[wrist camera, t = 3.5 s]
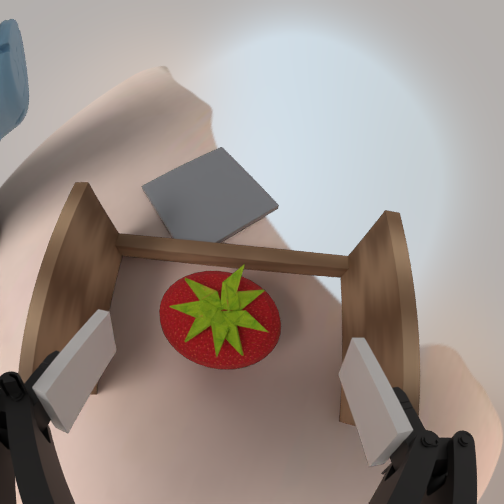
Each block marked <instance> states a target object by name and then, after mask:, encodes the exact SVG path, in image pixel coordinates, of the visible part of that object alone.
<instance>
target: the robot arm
mask: <svg viewBox="0 0 504 504" xmlns="http://www.w3.org/2000/svg"><path fill="white" fill-rule="evenodd" d="M28 105H29V88H28V77H27V68H26V61H25V54H24V48H23V42H22V37H21V33H20V30H19V28H18V24H17V22H16V20H14V19H10V20H5V21H3V22H2V23H1V24H0V140H1V139H2V138H3V137H4V136H6V135H7V134H8V133H9V132H11V131H12V130H13V129H14V128H16V127H17V126H18V125H19V124H20V123H21V122H22V121H23V119H24V118H25V116H26V113H27V110H28ZM116 351H117V349H116V344H115V339H114V334H113V329H112V323H111V317H110V312H109V311H104V310H99V309H98V310H97V311H96V312H95V313H94V314H93V316H92V317H91V318H90V319H89V320H88V321H87V322H86V323H85V324H84V326H83V327H82V328H81V329H80V330H79V331H78V332H77V333H76V335H75V336H74V337H73V338H72V339H71V340H70V341H69V343H68V344H67V345H66V346H65V347H64V348H63V350H62V351H61V352H59V351H57V350H56V351H54V352H52V353H51V354H49V355H48V356H47V357H46V358H45V359H44V360H43V363H41V364H40V365H39V366H38V368H37V369H36V370H35V371H34V372H33V374H32V375H31V376H30V377H29V378H28V380H27V381H26V382H25V383H23V381H22V379H21V377H20V375H19V374H18V373H16V372H6V373H4V374H3V375H1V376H0V504H16V491H15V477H16V482H17V486H18V489H19V493H20V496H21V500H22V503H23V504H75V502H74V500H73V498H72V495H71V493H70V490H69V488H68V485H67V483H66V480H65V477H64V474H63V472H62V469H61V466H60V463H59V460H58V456H57V453H56V450H55V446H54V442H53V439H52V435H51V431H50V428H49V425H48V424H49V422H50V420H51V421H52V423H53V424H54V426H55V427H56V428H58V429H60V430H62V431H64V432H66V433H69V431H70V429H71V427H72V425H73V424H74V422H75V420H76V418H77V416H78V415H79V413H80V411H81V409H82V408H83V406H84V404H85V402H86V401H87V399H88V397H89V395H90V394H91V392H92V390H93V389H94V387H95V385H96V384H97V382H98V380H99V379H100V377H101V375H102V374H103V372H104V370H105V369H106V367H107V366H108V364H109V362H110V361H111V359H112V358H113V356H114V354H115V353H116ZM338 375H339V378H340V381H341V384H342V387H343V389H344V392H345V395H346V398H347V401H348V404H349V407H350V410H351V413H352V415H353V418H354V421H355V424H356V427H357V430H358V434H359V437H360V440H361V443H362V446H363V449H364V452H365V455H366V459H367V462H368V465H369V467H371V466H376V465H381V464H384V463H385V462H386V461H387V460H388V459H389V458H390V459H391V462H392V463H391V464H390V465H389V466H388V467H387V468H386V469H385V470H384V471H383V472H382V474H384V473H385V472H386V473H385V475H384V477H383V479H382V481H381V483H380V484H379V486H378V488H377V490H376V492H375V493H374V495H373V497H372V499H371V500H370V502H369V504H477V468H476V454H475V443H474V439H473V437H472V435H471V434H470V433H468V432H467V431H458V432H457V433H455V435H454V436H453V437H452V438H439V437H438V436H437V435H436V434H435V433H434V432H432V431H428V430H425V428H424V426H423V425H422V423H421V421H420V419H419V417H418V415H417V413H416V411H415V409H414V408H413V406H412V404H411V402H410V400H409V398H408V397H407V395H406V393H405V392H404V391H403V390H402V389H400V388H399V387H393V388H392V387H391V385H390V383H389V381H388V379H387V378H386V376H385V374H384V372H383V370H382V368H381V367H380V365H379V363H378V361H377V359H376V357H375V356H374V354H373V352H372V350H371V349H370V347H369V345H368V343H367V341H366V340H365V338H352V339H351V342H350V345H349V348H348V350H347V353H346V356H345V358H344V361H343V364H342V366H341V369H340V371H339V374H338Z"/></svg>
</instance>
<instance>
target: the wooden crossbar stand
mask: <svg viewBox="0 0 504 504" xmlns="http://www.w3.org/2000/svg"><path fill="white" fill-rule="evenodd" d="M122 256H130V257H138V258H147V259H156V260H164V261H173V262H182V263H192V264H201V265H210V266H220V267H230V268H240V267H241V266H243V265H244V264H245V265H244V269H250V270H260V271H271V272H282V273H293V274H304V275H316V276H328V277H340V278H341V296H342V364H343V361H344V358H345V356H346V353H347V350H348V348H349V345H350V342H351V339H352V338H365V340H366V341H367V343H368V345H369V347H370V349H371V350H372V352H373V354H374V356H375V357H376V359H377V361H378V363H379V365H380V367H381V368H382V370H383V372H384V374H385V376H386V378H387V379H388V381H389V383H390V385H391V387H392V388H393V387H399V388H400V389H402V390H403V391H404V392H405V393H406V395H407V397H408V398H409V400H410V402H411V404H412V406H413V408H414V409H415V411H416V413H417V415H419V396H420V351H419V332H418V320H417V309H416V299H415V291H414V284H413V277H412V271H411V265H410V259H409V253H408V248H407V243H406V238H405V234H404V229H403V225H402V220H401V217H400V213H397V212H392V211H387V210H385V211H384V213H383V214H382V215H381V216H380V218H379V219H378V220H377V222H376V223H375V224H374V225H373V226H372V228H371V229H370V230H369V232H368V233H367V234H366V235H365V236H364V238H363V239H362V240H361V241H360V242H359V244H358V245H357V246H356V247H355V249H354V250H353V251H352V252H351V253H350V254H349V256H342V255H332V254H323V253H313V252H304V251H294V250H284V249H274V248H264V247H254V246H245V245H234V244H224V243H214V242H204V241H194V240H183V239H173V238H162V237H152V236H141V235H130V234H120V233H118V231H117V230H116V228H115V227H114V225H113V223H112V222H111V220H110V219H109V217H108V215H107V214H106V212H105V210H104V209H103V207H102V205H101V204H100V202H99V200H98V199H97V197H96V195H95V193H94V192H93V190H92V188H91V186H90V184H89V183H88V182H75V184H74V186H73V188H72V190H71V192H70V194H69V196H68V199H67V201H66V203H65V205H64V207H63V209H62V212H61V214H60V216H59V219H58V221H57V223H56V226H55V228H54V231H53V233H52V236H51V238H50V241H49V244H48V247H47V249H46V252H45V255H44V258H43V261H42V264H41V267H40V270H39V273H38V277H37V280H36V284H35V287H34V291H33V295H32V298H31V303H30V307H29V311H28V315H27V320H26V325H25V330H24V336H23V342H22V348H21V355H20V363H19V372H18V374H19V375H20V377H21V379H22V381H23V383H25V382H26V381H27V380H28V378H29V377H30V376H31V375H32V374H33V372H34V371H35V370H36V369H37V368H38V366H39V365H40V364H41V363H43V360H44V359H45V358H46V357H47V356H48V355H49V354H51V353H52V352H54V351H56V350H57V351H59V352H61V351H62V350H63V348H64V347H65V346H66V345H67V344H68V343H69V341H70V340H71V339H72V338H73V337H74V336H75V335H76V333H77V332H78V331H79V330H80V329H81V328H82V327H83V326H84V324H85V323H86V322H87V321H88V320H89V319H90V318H91V317H92V316H93V314H94V313H95V312H96V311H97V310H98V309H99V310H104V311H109V309H110V304H111V300H112V295H113V291H114V287H115V282H116V278H117V274H118V271H119V267H120V263H121V259H122ZM97 385H98V382H97V384H96V385H95V387H94V389H93V390H92V392H91V394H97ZM339 421H340V422H343V423H346V424H350V425H353V426H356V424H355V421H354V418H353V415H352V413H351V410H350V407H349V404H348V401H347V398H346V395H345V392H344V389H343V387H342V385H341V405H340V419H339Z"/></svg>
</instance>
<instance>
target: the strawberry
mask: <svg viewBox="0 0 504 504" xmlns="http://www.w3.org/2000/svg"><path fill="white" fill-rule="evenodd" d="M244 265H245V264H244ZM244 265H243V266H241V267H240V268H239V269H238V270H237V271H235V272H234V273H233V274H232V273H228V272H221V271H204V272H198V273H194V274H191V275H188V276H185V277H183V278H181V279H180V280H178V281H176V282H175V283H174V284H173V285H172V286H170V288H169V289H168V290H167V291H166V293H165V294H164V296H163V299H162V301H161V305H160V311H159V312H160V322H161V326H162V329H163V332H164V335H165V336H166V338H167V340H168V341H169V343H170V344H171V345H172V346H173V347H174V348H175V349H176V350H177V351H178V352H179V353H180V354H182V355H183V356H184V357H186V358H187V359H189V360H191V361H193V362H195V363H197V364H200V365H203V366H206V367H210V368H216V369H237V368H243V367H247V366H250V365H252V364H255V363H257V362H259V361H260V360H262V359H263V358H265V357H266V356H267V355H268V354H269V353H270V352H271V351H272V350H273V349H274V347H275V346H276V344H277V342H278V340H279V336H280V333H281V322H280V317H279V312H278V309H277V307H276V305H275V303H274V301H273V300H272V298H271V297H270V296H269V294H268V293H267V292H265V290H263V289H262V288H261V287H260V286H258V285H257V284H255V283H254V282H252V281H251V280H248V279H246V278H244V277H242V272H243V269H244Z"/></svg>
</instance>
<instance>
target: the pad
mask: <svg viewBox="0 0 504 504" xmlns="http://www.w3.org/2000/svg"><path fill="white" fill-rule="evenodd" d="M142 189H143V191H144V193H145V194H146V196H147V198H148V199H149V201H150V202H151V204H152V206H153V207H154V209H155V210H156V212H157V214H158V215H159V217H160V218H161V220H162V222H163V223H164V225H165V226H166V228H167V229H168V231H169V232H170V234H171V236H172V237H173V239H183V240H194V241H204V242H214V243H221V242H223V241H224V240H226V239H228V238H229V237H231V236H233V235H234V234H236V233H238V232H239V231H241V230H243V229H244V228H246V227H248V226H249V225H251V224H253V223H254V222H256V221H258V220H259V219H261V218H263V217H265V216H266V215H268V214H269V213H271V212H273V211H275V210H276V209H278V206H279V205H278V204H277V203H276V202H275V201H274V200H273V199H272V198H271V196H270V195H269V194H268V193H267V192H266V191H265V190H264V189H263V188H262V187H261V186H260V185H259V184H258V183H257V182H256V181H255V180H254V179H253V178H252V177H251V176H250V175H249V174H248V173H247V172H246V171H245V170H244V169H243V168H242V167H241V166H240V165H239V164H238V163H237V162H236V161H235V160H234V159H233V158H232V157H231V156H230V155H229V154H228V153H227V152H226V151H225V150H224V149H223V148H222V147H221V148H218V149H216V150H214V151H211V152H209V153H207V154H205V155H203V156H200V157H198V158H196V159H194V160H192V161H190V162H188V163H186V164H184V165H182V166H180V167H178V168H176V169H174V170H172V171H170V172H168V173H166V174H164V175H162V176H160V177H158V178H156V179H154V180H152V181H150V182H149V183H147V184H145V185H143V186H142Z"/></svg>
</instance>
